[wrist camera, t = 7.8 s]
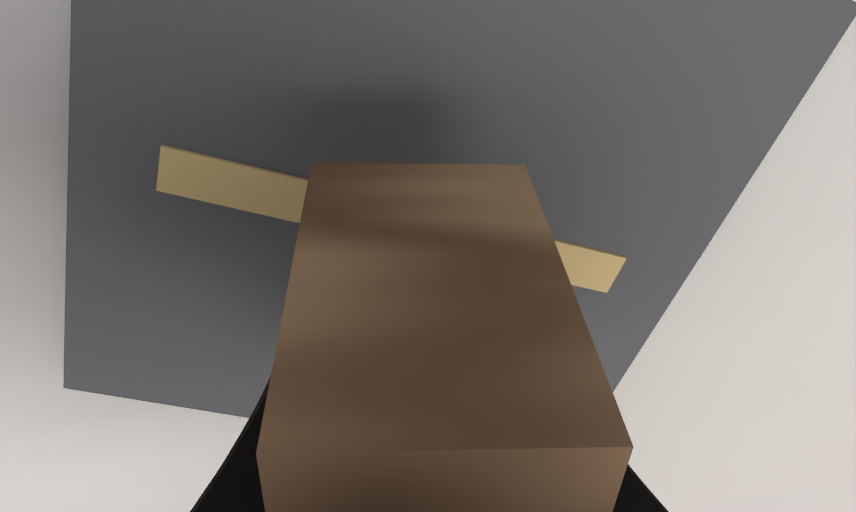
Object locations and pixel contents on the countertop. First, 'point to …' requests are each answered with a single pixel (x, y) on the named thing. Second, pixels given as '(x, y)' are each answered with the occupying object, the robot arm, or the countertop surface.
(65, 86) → the countertop surface
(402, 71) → the mat
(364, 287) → the walnut block
